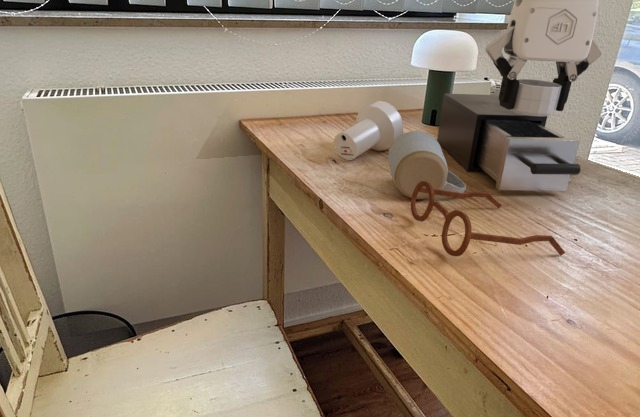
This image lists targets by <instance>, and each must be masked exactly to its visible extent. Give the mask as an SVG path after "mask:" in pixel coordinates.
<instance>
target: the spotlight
mask: <svg viewBox="0 0 640 417" xmlns="http://www.w3.org/2000/svg"><path fill="white" fill-rule="evenodd" d="M402 134H404V122H403V118H402V117H401V114H400V113H399V112H398V110H397V108H396V107H395V106H393V105H392V104H391V103H389V102H387V101H384V100H383V101H382V100H377V101H373V102H371V103H369V104H367V105H365V106H364V107H362V108H361V109H360V110H359V111H358V112H357V115H356V117H355V123H354V124H352V125H351V126H349V127H347V128H345V129H343V130H342V131H340V132H338V133H337V134H336V135H335V136H334V139H333V146H334V150H335V152H336V153H337V154H338V156H339V157H341V158H342V159H343V160H346V161H352V160H355V159H356V158H357V157H359V156H360V155H363V153H365V152H367V151H368V150H370V149H371V150H374V151H376V152H377V151H378V152H382V151H387V150H388V149H390V147H391V145H392V144H393V142H394V141H395V140H396V139H397V138H398V137H399V136H400V135H402Z"/></svg>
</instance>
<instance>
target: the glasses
mask: <svg viewBox="0 0 640 417" xmlns="http://www.w3.org/2000/svg"><path fill="white" fill-rule="evenodd" d="M423 186H425V187H426V188H425V187H423ZM418 192H422V193H429V198H428V204H427V207H426V209H425V211H424V212H423V214H422V215H420V214H419V213H418V210H417V207H416V206H417V205H416V203H417V199H416V198H417V195H418ZM434 194H435V195H434ZM436 196H443V197H449V198H454V199H455V198H457V199H469V198H486V199H487V200H488V201H489V202H490V203H491V204H492V205H494V207H496V209H500V208H501V207H502V204H501V203H500V202H499V201H497V200H496V198H494V197H493V196H492V195H491V194H490V193H489V192H485V191H467V192H464V193H458V192H451V191H445V190H438V189H433V187H432V185H431V184H430V183H429V182H425V181H421V182H419V183H418V184H417V186H416V187H415V189H414V192H413V195H412V198H410V199H411V200H410V213H411V215H412V217H413V219H414V220H416V221H418V222H425V221H426V220H428V218H429V216H430V214H431V213H432V211H433V208H435V209H437V211H439V212H440V214H442V216H443V218H444V223H443V227H442V229H441V230H442V231H441V244H442V248H443V249H444V251H445V252H446V254H448V255H449V256H451V257H460V256H462V255H463V254H464V253H465V252H466V250H467V249H468V247H469V244H470V242H471V240H476V241H483V242H484V241H485V242H492V243H500V244H507V245H509V244H510V245H517V246H522V245H526V244H530V243H531V244H532V243H534V242H535V243H536V242H548V243H549V244H550V246H551V247H553V249H554V250H555V251H556V253H558V255H559V256H561V257H562V256H563V255H564V254H566V251H565V250H564V249H563V248H562V247H561V245H560V244H559V243H558V241H557V240H556V239H555V238H554V237H553V236H552V235H546V234H545V235H544V234H543V235H542V234H534V235H530V236H525V237H521V238H519V237H512V236H506V235H505V236H503V235H496V234H489V233H480V232H472V222H471V220H470V218H469V216H468V215H467V213H466V212H465V211H462V210H458V209H457V210H456V209H455V210H452V211H450V212H449V210H448V209H447V208H446V207H445V206H444V205H443V204H441V203H440V201H435V200H436ZM456 217H459V218H460V219H461V220H462V222H463V224H464V237H463V240H462V243H461V245H460V246H459V248H457V249H456V250H454V249H453V248H452V247H451V246H450V244H449V239H448V234H449V230H450V229H449V228H450V225H451V223H452V221H453V219H454V218H456Z"/></svg>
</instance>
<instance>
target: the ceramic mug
mask: <svg viewBox="0 0 640 417" xmlns="http://www.w3.org/2000/svg"><path fill="white" fill-rule="evenodd" d="M387 158H388V159H387V160H388V161H387V162H388V165H389V169H390V174H391V178H392V181H393V183H394V186H395V187H396V189H397V190H398V191H399V192H400V193H401V194H402V195H403V196H405V197H407V198H409V199H412V195H413V192H414V189H415V187H416V186H417V184H418V183H419V182H421V181H425V182H429V183H430V184H431V185H432V187H433V189H438V190H445V191H451V192H458V193H465V191H466V190H467V186H466V183H465V182H464V181H463V180H462V178H460V177H459V176H458V175H456V174H455V173H454V172H452V171H451V170H450V169H449V168H448V163H447V160H446V158H445V156H444V153H443V148H442V147H441V146H440V144H439V143H438V141H437V138H435V136H433V135H432V134H430V133H428V132H427V131H422V130H409V131H406V132H403V134H402V135H400V136H399V137H398V138H397V139H396V140H395V141H394V142H393V144H392V145H391V147H389V150H388V156H387ZM423 187H425V186H423ZM425 188H426V187H425ZM434 195H435V194H434ZM435 196H436V195H435ZM426 199H429V193H422V192H418V195H417V198H416V200H426Z"/></svg>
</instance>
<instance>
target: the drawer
mask: <svg viewBox="0 0 640 417" xmlns="http://www.w3.org/2000/svg"><path fill="white" fill-rule="evenodd" d="M580 142H581V141H580V140H579V139H577V138H575V137H565V136H564V135H562V134H561V133H558V132H556V131H554V130H552V129H551V128H548V127H546V126H545V127H544V126H542V125H541V124H539V123H537V122H535V121H519V120H482V121H481V126H480V131H479V137H478V142H477V148H476V153H475V159H474V162H475V163H476V164H477V165H478V166H479V167H480V168H482V169H483V170H484V171H485V172H484V173H486V174H487V175H488V176H489V177H491V179H493V180H494V181H495V182H496V183H495V188H496V189H497V190H498V191H539V192H540V191H543V192H544V191H547V192H549V191H550V192H551V191H553V192H555V191H556V192H557V191H558V192H561V191H563V192H565V191H567V190H568V186H569V181H570V178H571V175H572V176H577V175H579V174H580V173H581V165H580V164H579V163H575V160H576V156H577V152H578V150H579V146H580Z"/></svg>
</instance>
